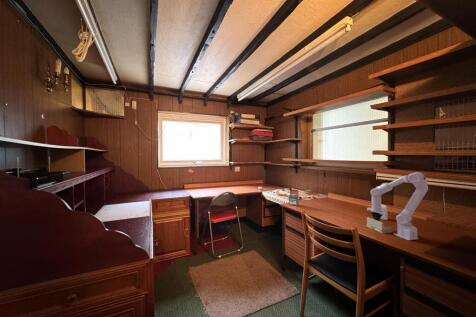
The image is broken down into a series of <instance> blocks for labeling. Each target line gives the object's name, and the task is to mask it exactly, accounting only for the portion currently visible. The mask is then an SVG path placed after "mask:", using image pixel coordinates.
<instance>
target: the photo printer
mask: <svg viewBox="0 0 476 317" xmlns="http://www.w3.org/2000/svg"><path fill="white" fill-rule="evenodd" d="M381 211H383V212H385V213H387V216H384V215H382V216H381V218H380V220H383V221H384V220H385V221H388V219H389V217H388V216H389V214H388V206H387V205H385V204H382V203H381Z"/></svg>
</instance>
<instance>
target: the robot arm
mask: <svg viewBox="0 0 476 317" xmlns="http://www.w3.org/2000/svg"><path fill="white" fill-rule="evenodd" d="M427 180H428V179H427V177H426V176H425V175H424V173H423V172H420V171H415V172H412V173H409V174H406V175H403V176H401V177H399V178H396V179H395V180H393V181H391V182H383V183H381V184H380V185H379V186H378V185H377V186H375V188H372V189H370V191H369V192H370V195H371V207H366V211H370V214H371V216H372V219H374V220H377V221H379V222H380V220H381V219H380V218H381V216H382V215H384V216H387V213H385V212H383V211H381V204H382V195H384V194H386V193H389V192H390V191H393V189H394V187H396V186H399V185H401V184H403V183H411V184H412V185H413V186H414V188H416V189H415V191H414V192H413V193H412V196H410V199H409V200H408V201H407V204H406V205H405V206H404V209H403V210H402V211H401V212H400V213H399V214H397V215H396V216H395V219H396V224H397V225H396V230H397V232H396V233H393V235H395V236H397V237H398V238H401V239H404V240H406V241H412V240H419V238H418V228H417V227H416V226H414V225H413V224H412V222H411V221H412V220H413V215H414V212H415V211H416V210H417V207H418V206H419V204H421V201H422V200H423V198H424V197H425V195H426V193H427V192H428V191H429V186H428V182H427Z"/></svg>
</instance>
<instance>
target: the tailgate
mask: <svg viewBox="0 0 476 317" xmlns="http://www.w3.org/2000/svg"><path fill="white" fill-rule="evenodd" d="M367 224H368V225H370V226H372V227H375V228H377V229H379V230H383V227H384V223H383V222H382V221H380V220H379V221H377V220H374V218H372V217H366V225H367Z"/></svg>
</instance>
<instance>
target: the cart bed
mask: <svg viewBox="0 0 476 317" xmlns="http://www.w3.org/2000/svg"><path fill="white" fill-rule="evenodd" d="M366 227H368V228H369V229H372V230H375V231H377V232H379V233H381V234H386V233H393V227H392V226H383V230H379V229H377V228H375V227H372V226H370V225H368V224H367V223H366Z"/></svg>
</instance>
